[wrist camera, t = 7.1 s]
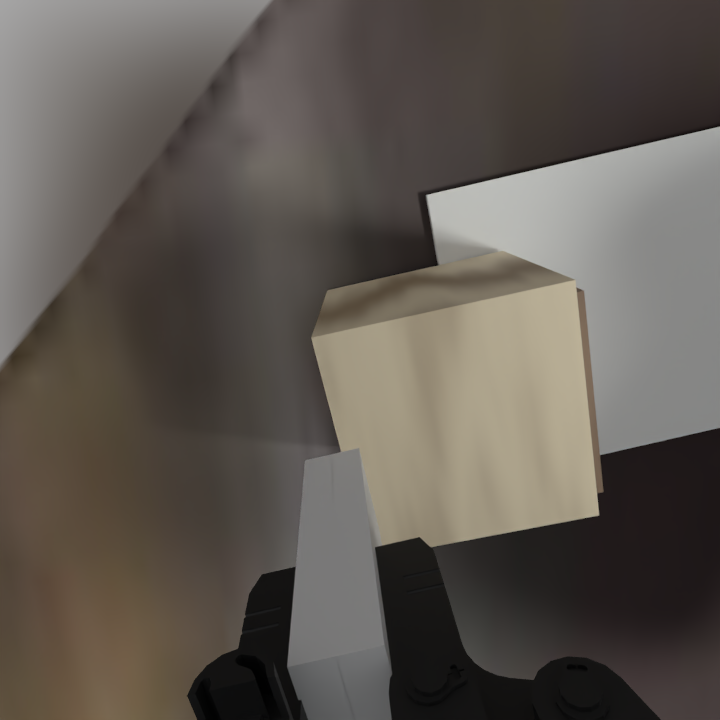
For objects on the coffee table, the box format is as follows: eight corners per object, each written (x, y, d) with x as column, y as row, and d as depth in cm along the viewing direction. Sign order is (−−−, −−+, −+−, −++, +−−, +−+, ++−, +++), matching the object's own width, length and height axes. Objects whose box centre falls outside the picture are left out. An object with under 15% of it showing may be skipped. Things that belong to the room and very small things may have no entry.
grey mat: (749, 119, 22) (754, 118, 22) (748, 417, 26) (753, 420, 26) (425, 195, 22) (426, 195, 22) (475, 480, 26) (477, 483, 26)
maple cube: (327, 290, 23) (511, 248, 23) (366, 449, 25) (534, 415, 25) (311, 337, 15) (589, 276, 15) (369, 558, 18) (611, 513, 17)
